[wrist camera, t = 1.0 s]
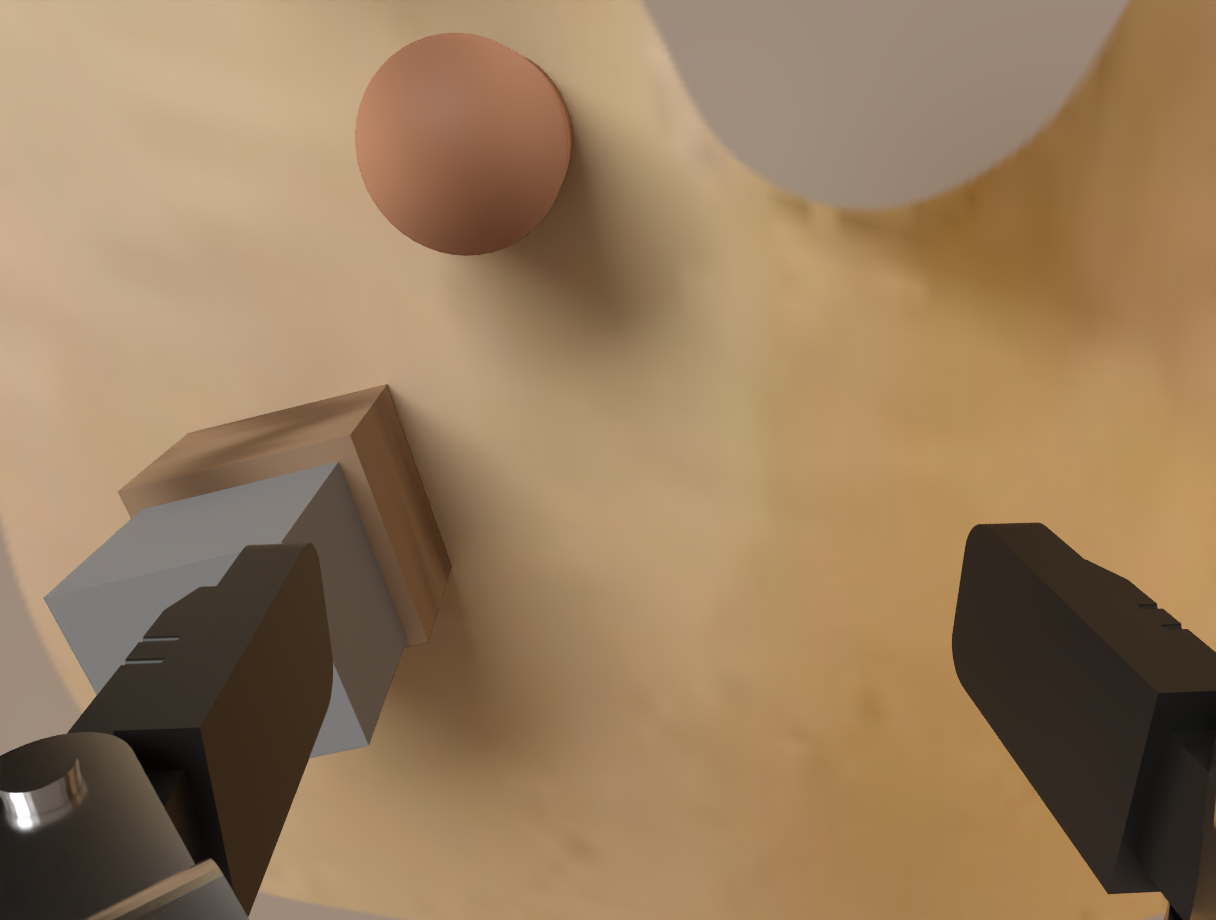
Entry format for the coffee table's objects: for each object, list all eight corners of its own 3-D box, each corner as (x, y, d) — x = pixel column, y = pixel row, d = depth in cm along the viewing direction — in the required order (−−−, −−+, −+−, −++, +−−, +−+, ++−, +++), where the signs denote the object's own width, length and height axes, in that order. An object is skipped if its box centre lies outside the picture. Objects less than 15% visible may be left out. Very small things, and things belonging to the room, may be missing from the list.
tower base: (388, 382, 30) (349, 435, 25) (452, 564, 33) (428, 642, 28) (190, 431, 31) (117, 491, 26) (268, 606, 33) (215, 689, 29)
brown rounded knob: (546, 26, 26) (533, 6, 21) (591, 200, 28) (589, 226, 22) (381, 72, 26) (324, 66, 21) (435, 242, 28) (395, 277, 23)
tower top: (338, 461, 26) (281, 541, 21) (407, 637, 28) (368, 745, 23) (141, 509, 26) (43, 597, 22) (223, 679, 28) (150, 792, 24)
